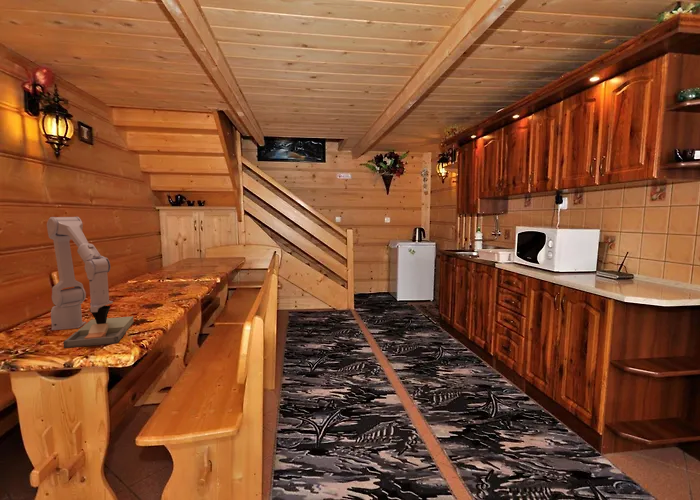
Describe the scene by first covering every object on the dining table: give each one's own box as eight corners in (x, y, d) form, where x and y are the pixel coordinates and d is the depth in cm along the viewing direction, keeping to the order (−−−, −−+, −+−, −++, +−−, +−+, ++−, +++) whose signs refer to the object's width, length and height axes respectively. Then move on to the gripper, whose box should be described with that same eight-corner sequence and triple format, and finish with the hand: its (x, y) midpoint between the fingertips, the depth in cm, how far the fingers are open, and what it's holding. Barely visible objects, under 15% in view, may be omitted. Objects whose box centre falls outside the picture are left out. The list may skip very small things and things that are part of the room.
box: (63, 348, 127) (63, 341, 127) (76, 337, 137) (75, 331, 137) (117, 343, 132) (117, 336, 132) (125, 333, 142) (125, 327, 142)
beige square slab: (77, 337, 138) (77, 330, 137) (91, 325, 152) (91, 319, 152) (124, 333, 142) (123, 326, 142) (133, 322, 156) (133, 316, 156)
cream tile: (89, 337, 135) (88, 333, 134) (93, 328, 139) (92, 324, 138) (105, 336, 137) (104, 332, 136) (108, 327, 141) (107, 323, 140)
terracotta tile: (84, 343, 130) (84, 337, 130) (89, 338, 134) (89, 333, 134) (101, 341, 131) (101, 336, 131) (105, 337, 136) (105, 332, 136)
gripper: (105, 294, 133) (108, 331, 135) (117, 286, 147) (119, 319, 149) (82, 295, 131) (85, 333, 133) (96, 287, 145) (98, 321, 146)
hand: (101, 326), depth 141 cm, fingers closed
